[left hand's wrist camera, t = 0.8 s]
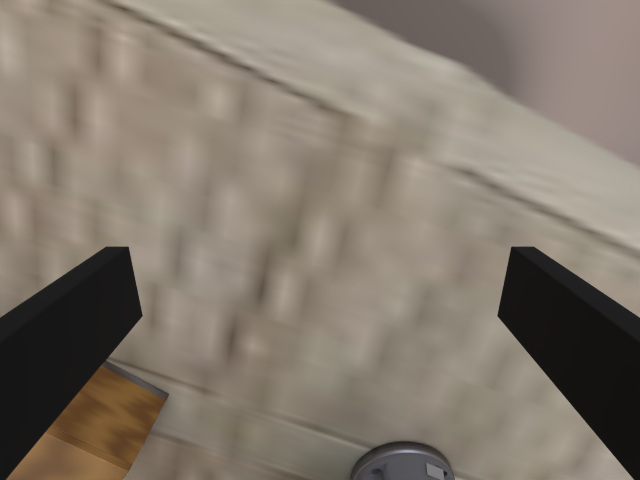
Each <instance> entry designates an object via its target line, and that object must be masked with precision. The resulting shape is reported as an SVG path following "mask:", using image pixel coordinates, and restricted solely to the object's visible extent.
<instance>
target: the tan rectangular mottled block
mask: <svg viewBox="0 0 640 480" xmlns="http://www.w3.org/2000/svg"><path fill="white" fill-rule="evenodd" d="M168 395H169V394H168V393H166V392H164V391H162V390H160V389H158V388H156V387H154V386H152V385H151V384H149V383H147V382H145V381H143V380H141V379H139V378H137V377H135V376H134V375H132V374H130V373H128V372H126V371H124V370H122V369H120V368H118V367H116V366H115V365H113V364H111V363H109V362H107V361H105V362H104V363H103V364H102V365H101V366H100V368H99V369H98V370H97V371H96V372H95V374H94V375H93V376H92V377H91V378H90V380H89V381H88V382H87V383H86V384H85V385H84V387H83V388H82V389H81V390H80V391H79V393H78V394H77V395H76V396H75V397H74V399H73V400H72V401H71V402H70V403H69V405H68V406H67V407H66V408H65V409H64V411H63V412H62V413H61V414H60V415H59V417H58V418H57V419H56V420H55V421H54V423H53V424H52V425H51V426H50V427H49V429H48V430H47V431H46V432H45V433H44V435H43V436H42V437H41V438H40V439H39V441H38V442H37V443H36V444H35V445H34V447H33V448H32V449H31V450H30V451H29V453H28V454H27V455H26V456H25V457H24V459H23V460H22V461H21V462H20V463H19V465H18V466H17V467H16V468H15V469H14V471H13V472H12V473H11V474H10V475H9V477H8V478H7V479H6V480H122V479H123V478H124V477H125V476H126V474H127V473H128V472H129V470H130V468H131V466H132V464H133V462H134V460H135V458H136V457H137V455H138V453H139V451H140V449H141V447H142V445H143V443H144V441H145V439H146V437H147V435H148V433H149V432H150V430H151V428H152V426H153V424H154V422H155V420H156V418H157V416H158V414H159V412H160V410H161V408H162V406H163V405H164V403H165V401H166V399H167V397H168Z"/></svg>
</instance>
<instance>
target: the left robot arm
mask: <svg viewBox="0 0 640 480" xmlns="http://www.w3.org/2000/svg"><path fill="white" fill-rule="evenodd" d="M141 317H142V311H141V306H140V301H139V296H138V291H137V286H136V281H135V276H134V271H133V266H132V261H131V256H130V252H129V247H105V248H104V249H102V250H101V251H99V252H98V253H96V254H95V255H93V256H92V257H90V258H89V259H87V260H86V261H84V262H83V263H81V264H80V265H78V266H77V267H75V268H74V269H72V270H71V271H69V272H68V273H66V274H65V275H63V276H62V277H60V278H59V279H57V280H56V281H54V282H53V283H51V284H50V285H48V286H47V287H45V288H44V289H42V290H41V291H39V292H38V293H36V294H35V295H33V296H32V297H30V298H29V299H27V300H26V301H24V302H23V303H21V304H20V305H19V306H17V307H16V308H14V309H13V310H11V311H10V312H8V313H7V314H5V315H4V316H2V317H1V318H0V480H6V479H7V478H8V477H9V475H10V474H11V473H12V472H13V471H14V469H15V468H16V467H17V466H18V465H19V463H20V462H21V461H22V460H23V459H24V457H25V456H26V455H27V454H28V453H29V451H30V450H31V449H32V448H33V447H34V445H35V444H36V443H37V442H38V441H39V439H40V438H41V437H42V436H43V435H44V433H45V432H46V431H47V430H48V429H49V427H50V426H51V425H52V424H53V423H54V421H55V420H56V419H57V418H58V417H59V415H60V414H61V413H62V412H63V411H64V409H65V408H66V407H67V406H68V405H69V403H70V402H71V401H72V400H73V399H74V397H75V396H76V395H77V394H78V393H79V391H80V390H81V389H82V388H83V387H84V385H85V384H86V383H87V382H88V381H89V380H90V378H91V377H92V376H93V375H94V374H95V372H96V371H97V370H98V369H99V368H100V366H101V365H102V364H103V363H104V362H105V360H106V359H107V358H108V357H109V356H110V354H111V353H112V352H113V351H114V350H115V348H116V347H117V346H118V345H119V344H120V342H121V341H122V340H123V339H124V338H125V336H126V335H127V334H128V333H129V332H130V330H131V329H132V328H133V327H134V326H135V324H136V323H137V322H138V321H139V320H140V318H141ZM498 317H499V318H500V320H501V321H502V322H503V323H504V324H505V326H506V327H507V328H508V329H509V330H510V332H511V333H512V334H513V335H514V336H515V338H516V339H517V340H518V341H519V342H520V344H521V345H522V346H523V347H524V348H525V350H526V351H527V352H528V353H529V354H530V356H531V357H532V358H533V359H534V360H535V362H536V363H537V364H538V365H539V366H540V368H541V369H542V370H543V371H544V372H545V374H546V375H547V376H548V377H549V378H550V380H551V381H552V382H553V383H554V384H555V385H556V387H557V388H558V389H559V390H560V391H561V393H562V394H563V395H564V396H565V397H566V399H567V400H568V401H569V402H570V403H571V405H572V406H573V407H574V408H575V409H576V411H577V412H578V413H579V414H580V415H581V417H582V418H583V419H584V420H585V421H586V423H587V424H588V425H589V426H590V427H591V429H592V430H593V431H594V432H595V433H596V435H597V436H598V437H599V438H600V439H601V441H602V442H603V443H604V444H605V445H606V447H607V448H608V449H609V450H610V451H611V453H612V454H613V455H614V456H615V457H616V459H617V460H618V461H619V462H620V463H621V465H622V466H623V467H624V468H625V469H626V471H627V472H628V473H629V474H630V475H631V477H632V478H633V479H634V480H640V318H639V317H638V316H636V315H635V314H633V313H632V312H630V311H629V310H627V309H626V308H624V307H623V306H621V305H620V304H619V303H617V302H616V301H614V300H613V299H611V298H610V297H608V296H607V295H605V294H604V293H602V292H601V291H599V290H598V289H596V288H595V287H593V286H592V285H590V284H589V283H587V282H586V281H584V280H583V279H581V278H580V277H578V276H577V275H575V274H574V273H572V272H571V271H569V270H568V269H566V268H565V267H563V266H562V265H560V264H559V263H557V262H556V261H554V260H553V259H551V258H550V257H548V256H547V255H545V254H544V253H542V252H541V251H539V250H538V249H536V248H535V247H511V252H510V256H509V261H508V266H507V271H506V276H505V281H504V286H503V291H502V296H501V301H500V306H499V311H498ZM351 480H455V478H454V475H453V472H452V470H451V467H450V464H449V462H448V461H447V459H446V458H445V457H444V456H443V455H442V454H441V453H440V452H438V451H437V450H435V449H433V448H431V447H429V446H426V445H423V444H419V443H412V442H399V443H392V444H387V445H384V446H381V447H378V448H376V449H374V450H372V451H370V452H369V453H367V454H366V455H365V456H363V457H362V458H361V459H360V460H359V461H358V463H357V464H356V465H355V467H354V469H353V472H352V475H351Z"/></svg>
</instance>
